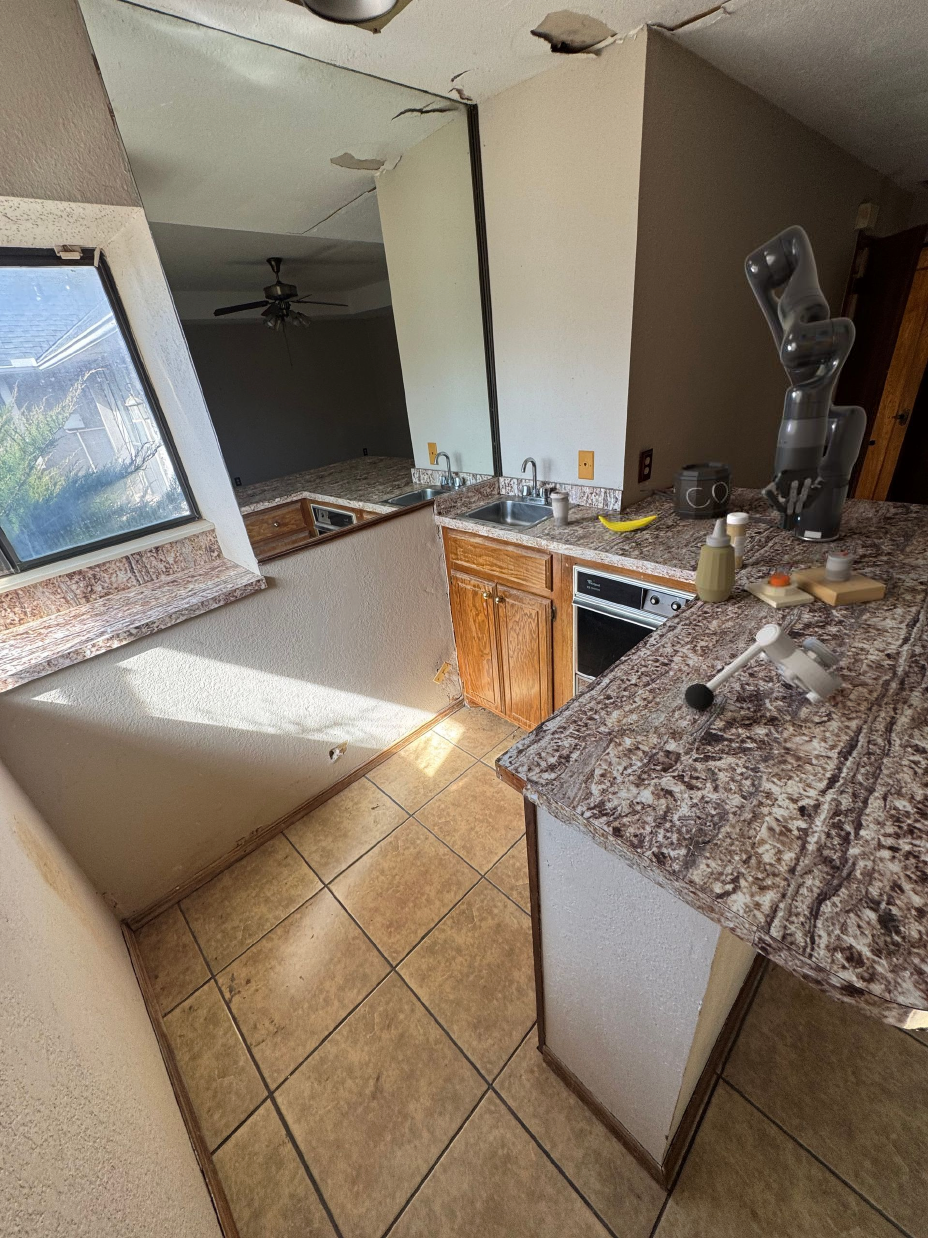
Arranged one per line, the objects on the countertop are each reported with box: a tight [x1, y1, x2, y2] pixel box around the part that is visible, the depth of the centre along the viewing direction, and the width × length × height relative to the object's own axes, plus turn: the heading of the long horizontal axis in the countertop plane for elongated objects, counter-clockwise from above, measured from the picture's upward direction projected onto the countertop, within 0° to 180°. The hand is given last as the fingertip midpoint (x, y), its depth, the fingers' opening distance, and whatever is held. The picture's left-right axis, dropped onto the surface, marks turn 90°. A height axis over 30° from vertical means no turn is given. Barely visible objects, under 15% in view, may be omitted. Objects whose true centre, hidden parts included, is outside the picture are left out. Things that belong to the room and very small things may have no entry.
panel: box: [790, 565, 887, 607], centre depth 102 cm, size 13×10×3 cm
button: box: [769, 573, 791, 587], centre depth 103 cm, size 4×4×2 cm
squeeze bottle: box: [694, 518, 736, 603], centre depth 104 cm, size 8×8×18 cm
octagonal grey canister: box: [672, 461, 735, 521], centre depth 161 cm, size 18×18×16 cm
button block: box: [744, 577, 815, 609], centre depth 104 cm, size 11×8×3 cm
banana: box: [596, 513, 658, 533], centre depth 157 cm, size 3×19×6 cm, turn 71°
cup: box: [549, 489, 571, 527], centre depth 174 cm, size 7×7×12 cm
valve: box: [684, 623, 844, 711], centre depth 74 cm, size 10×20×15 cm
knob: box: [824, 550, 856, 582], centre depth 100 cm, size 4×4×5 cm
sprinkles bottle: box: [726, 511, 750, 569], centre depth 119 cm, size 5×5×13 cm
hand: (786, 530), depth 98 cm, fingers closed
